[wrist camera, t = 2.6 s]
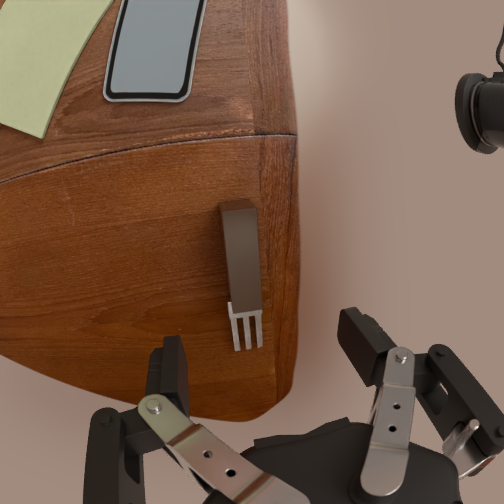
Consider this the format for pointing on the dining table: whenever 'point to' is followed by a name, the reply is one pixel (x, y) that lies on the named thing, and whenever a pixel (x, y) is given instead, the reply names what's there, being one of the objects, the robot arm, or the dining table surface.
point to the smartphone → (153, 50)
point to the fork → (242, 268)
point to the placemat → (41, 56)
